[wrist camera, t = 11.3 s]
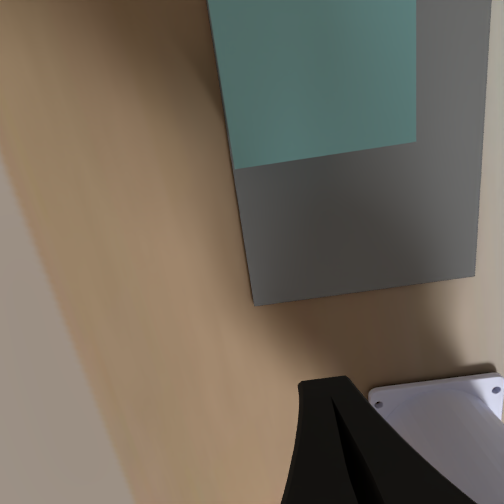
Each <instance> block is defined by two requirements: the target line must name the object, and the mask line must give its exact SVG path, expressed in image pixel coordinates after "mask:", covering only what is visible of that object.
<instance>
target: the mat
mask: <svg viewBox="0 0 504 504" xmlns="http://www.w3.org/2000/svg"><path fill="white" fill-rule="evenodd" d="M491 1H492V0H416V142H411V143H404V144H398V145H391V146H385V147H378V148H371V149H365V150H358V151H352V152H345V153H339V154H332V155H325V156H319V157H312V158H306V159H299V160H293V161H286V162H279V163H273V164H266V165H260V166H253V167H247V168H240V169H235V168H234V162H233V155H232V149H231V143H230V136H229V130H228V124H227V118H226V111H225V105H224V99H223V92H222V86H221V80H220V74H219V67H218V61H217V55H216V48H215V42H214V36H213V29H212V23H211V17H210V11H209V4H208V0H206V2H207V8H208V14H209V21H210V27H211V34H212V40H213V46H214V53H215V59H216V65H217V72H218V78H219V84H220V91H221V97H222V104H223V110H224V116H225V123H226V129H227V135H228V142H229V148H230V155H231V161H232V167H233V174H234V180H235V186H236V193H237V199H238V205H239V212H240V218H241V225H242V231H243V237H244V244H245V250H246V256H247V263H248V269H249V276H250V282H251V288H252V295H253V301H254V306H260V305H268V304H275V303H282V302H290V301H297V300H304V299H312V298H319V297H326V296H334V295H341V294H348V293H356V292H363V291H370V290H378V289H385V288H392V287H400V286H407V285H414V284H422V283H429V282H436V281H444V280H451V279H458V278H466V277H473V276H475V266H476V249H477V233H478V216H479V200H480V183H481V167H482V150H483V133H484V117H485V100H486V84H487V67H488V51H489V34H490V18H491Z"/></svg>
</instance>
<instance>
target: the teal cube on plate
mask: <svg viewBox="0 0 504 504" xmlns="http://www.w3.org/2000/svg"><path fill="white" fill-rule="evenodd" d="M208 4H209V11H210V17H211V23H212V29H213V36H214V42H215V48H216V55H217V61H218V67H219V74H220V80H221V86H222V92H223V99H224V105H225V111H226V118H227V124H228V130H229V136H230V143H231V149H232V155H233V162H234V168H235V169H240V168H247V167H253V166H260V165H266V164H273V163H279V162H286V161H293V160H299V159H306V158H312V157H319V156H325V155H332V154H339V153H345V152H352V151H358V150H365V149H371V148H378V147H385V146H391V145H398V144H404V143H411V142H416V0H208Z"/></svg>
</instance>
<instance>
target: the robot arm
mask: <svg viewBox="0 0 504 504" xmlns="http://www.w3.org/2000/svg"><path fill="white" fill-rule="evenodd" d="M494 387H495V388H494ZM493 388H494V389H493ZM298 392H299V415H298V425H297V432H296V439H295V445H294V451H293V455H292V460H291V465H290V469H289V474H288V478H287V482H286V486H285V490H284V494H283V497H282V501H281V504H504V424H503V423H502V421H501V416H502V406H503V396H504V378H503V377H502V376H501V375H500V374H499V373H495V372H493V373H485V374H478V375H470V376H462V377H454V378H446V379H439V380H431V381H423V382H415V383H407V384H400V385H392V386H384V387H376V388H373V389H372V390H370V392H369V394H368V400H369V402H368V401H367V399H366V398H365V397H364V396H363V395H362V394H361V392H360V391H359V390H358V389H357V388H356V386H355V385H354V384H353V383H352V381H351V380H350V379H349V378H348V377H347V376H337V377H330V378H322V379H314V380H307V381H301V382H300V383H299V384H298ZM378 401H380V402H379V403H378V404H375V403H376V402H378Z"/></svg>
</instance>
